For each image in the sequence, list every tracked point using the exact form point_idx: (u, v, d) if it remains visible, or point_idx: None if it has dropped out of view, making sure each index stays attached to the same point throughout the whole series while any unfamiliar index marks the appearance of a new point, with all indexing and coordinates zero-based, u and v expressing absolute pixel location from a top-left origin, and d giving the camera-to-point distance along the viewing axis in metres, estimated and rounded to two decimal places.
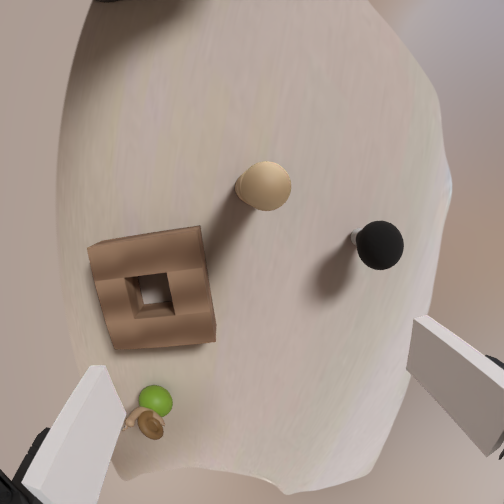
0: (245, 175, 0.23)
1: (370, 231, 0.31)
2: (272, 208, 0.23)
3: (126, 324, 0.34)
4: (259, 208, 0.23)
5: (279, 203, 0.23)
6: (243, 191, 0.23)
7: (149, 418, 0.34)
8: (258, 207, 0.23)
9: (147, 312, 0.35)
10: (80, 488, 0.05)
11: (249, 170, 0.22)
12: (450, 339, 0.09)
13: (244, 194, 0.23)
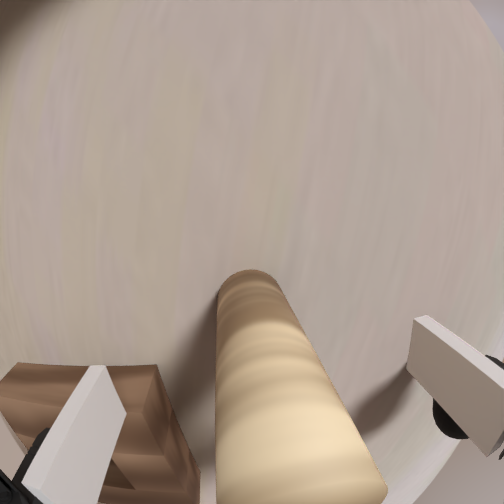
0: None
1: None
2: None
3: None
4: None
5: None
6: None
7: None
8: None
9: None
10: (80, 488, 0.05)
11: None
12: (450, 339, 0.09)
13: None
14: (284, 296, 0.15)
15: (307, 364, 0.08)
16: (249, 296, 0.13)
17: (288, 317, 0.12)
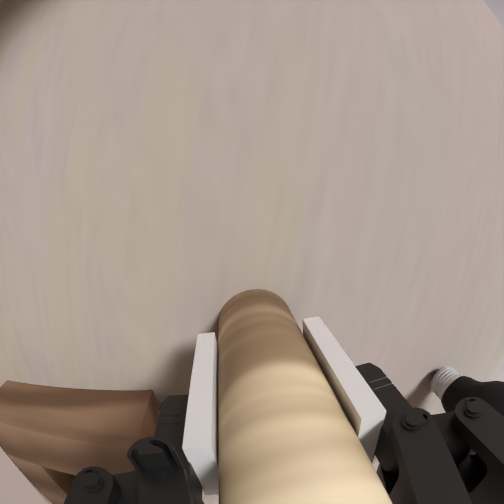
0: None
1: None
2: None
3: None
4: None
5: None
6: None
7: None
8: None
9: None
10: None
11: None
12: (325, 342, 0.10)
13: None
14: (295, 321, 0.13)
15: (331, 422, 0.06)
16: (256, 326, 0.11)
17: (303, 354, 0.09)
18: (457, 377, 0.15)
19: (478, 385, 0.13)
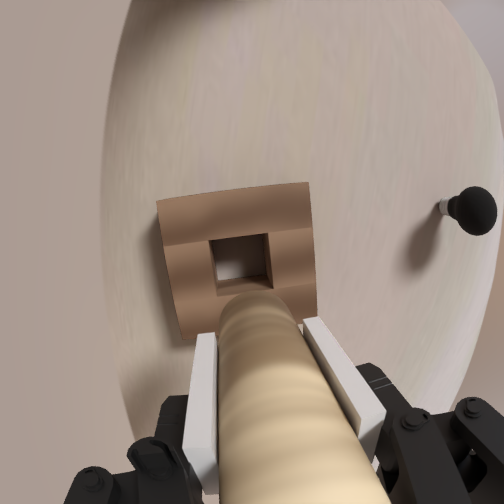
0: None
1: (472, 194, 0.25)
2: None
3: (204, 304, 0.28)
4: None
5: None
6: None
7: None
8: None
9: (231, 289, 0.29)
10: None
11: None
12: (325, 342, 0.10)
13: None
14: (295, 323, 0.13)
15: (331, 424, 0.06)
16: (256, 328, 0.11)
17: (303, 355, 0.09)
18: None
19: None
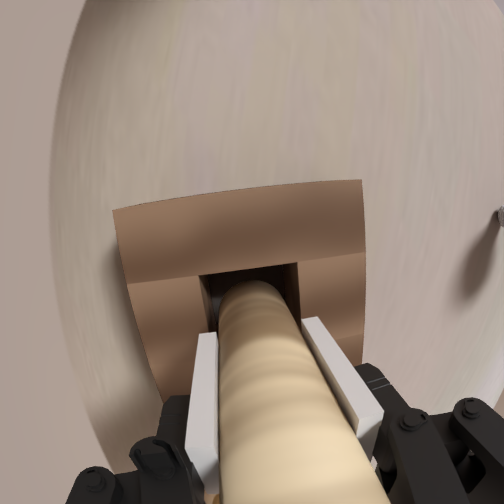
0: None
1: None
2: None
3: None
4: None
5: None
6: None
7: None
8: None
9: None
10: None
11: None
12: (323, 342, 0.10)
13: None
14: (287, 308, 0.15)
15: (312, 383, 0.08)
16: (252, 309, 0.13)
17: (292, 332, 0.11)
18: None
19: None
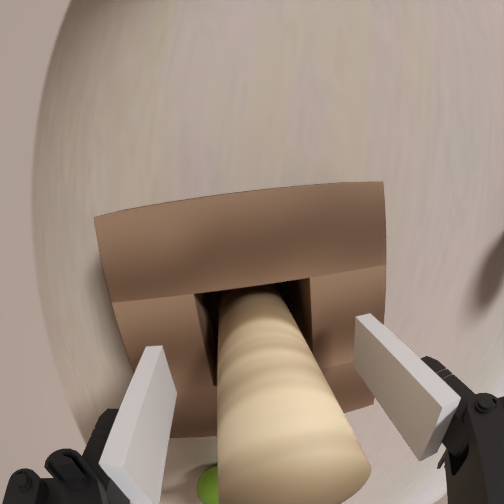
0: (229, 486, 0.05)
1: None
2: None
3: (192, 396, 0.14)
4: None
5: None
6: None
7: None
8: None
9: None
10: (151, 464, 0.07)
11: (242, 479, 0.05)
12: (385, 338, 0.10)
13: None
14: (281, 297, 0.16)
15: (299, 355, 0.09)
16: (248, 296, 0.14)
17: (284, 315, 0.13)
18: None
19: None
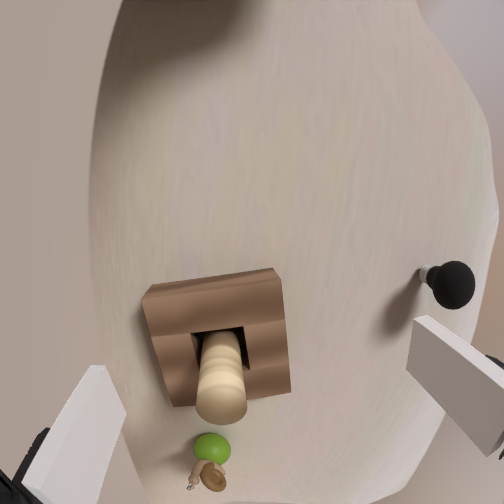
0: (198, 400, 0.20)
1: (450, 273, 0.27)
2: (229, 423, 0.20)
3: (190, 381, 0.29)
4: (216, 423, 0.20)
5: (235, 419, 0.20)
6: (198, 412, 0.20)
7: (211, 470, 0.30)
8: (215, 423, 0.20)
9: None
10: (80, 488, 0.05)
11: (202, 396, 0.20)
12: (450, 339, 0.09)
13: (200, 414, 0.20)
14: (235, 332, 0.31)
15: (229, 360, 0.24)
16: (216, 333, 0.29)
17: (230, 343, 0.28)
18: (432, 266, 0.32)
19: None
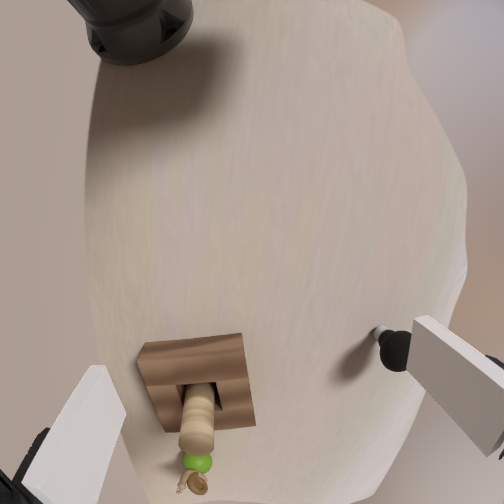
0: (180, 441, 0.26)
1: (393, 345, 0.33)
2: (202, 455, 0.27)
3: (177, 416, 0.36)
4: (193, 454, 0.27)
5: (206, 453, 0.27)
6: (180, 448, 0.27)
7: (195, 478, 0.37)
8: (192, 454, 0.27)
9: None
10: (80, 488, 0.05)
11: (182, 439, 0.26)
12: (450, 339, 0.09)
13: (181, 449, 0.27)
14: None
15: (203, 411, 0.31)
16: (195, 384, 0.36)
17: (205, 394, 0.34)
18: (385, 330, 0.39)
19: (393, 332, 0.36)
